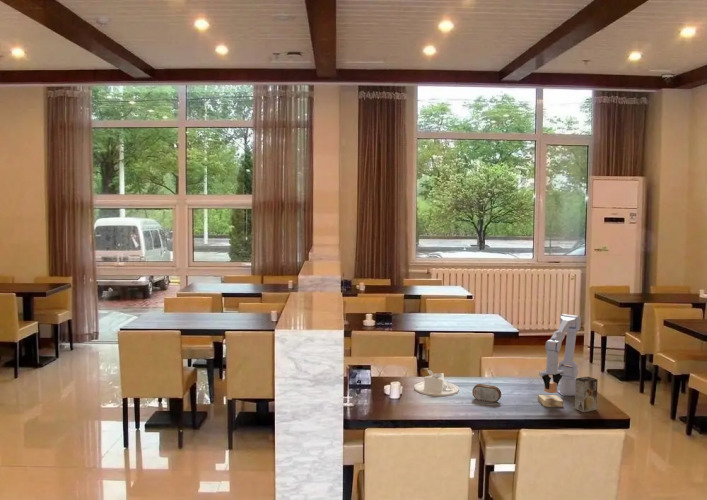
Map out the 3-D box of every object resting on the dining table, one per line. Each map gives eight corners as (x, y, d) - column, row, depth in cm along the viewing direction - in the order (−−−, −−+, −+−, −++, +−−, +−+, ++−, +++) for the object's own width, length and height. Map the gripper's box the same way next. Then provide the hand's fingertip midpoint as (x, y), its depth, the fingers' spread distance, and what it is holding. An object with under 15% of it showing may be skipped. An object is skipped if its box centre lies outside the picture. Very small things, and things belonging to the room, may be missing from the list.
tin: (501, 402, 340) (501, 386, 339) (499, 404, 337) (500, 388, 336) (473, 398, 346) (473, 382, 345) (471, 399, 343) (472, 384, 342)
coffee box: (586, 406, 336) (588, 376, 334) (596, 410, 330) (598, 379, 328) (574, 408, 331) (575, 378, 330) (583, 412, 326) (585, 381, 324)
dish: (448, 399, 343) (449, 378, 342) (406, 391, 356) (406, 371, 355) (466, 388, 364) (466, 368, 363) (425, 380, 377) (426, 361, 376)
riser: (556, 400, 344) (556, 395, 344) (563, 406, 334) (563, 401, 334) (537, 400, 344) (538, 394, 343) (544, 406, 334) (544, 400, 333)
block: (551, 389, 341) (551, 380, 341) (556, 392, 337) (557, 383, 337) (544, 390, 340) (544, 381, 339) (549, 393, 336) (550, 383, 335)
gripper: (558, 360, 343) (557, 385, 344) (535, 362, 338) (534, 387, 339) (567, 363, 337) (566, 388, 338) (544, 365, 332) (543, 391, 333)
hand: (551, 388), depth 338 cm, fingers closed on block, 4 cm apart
